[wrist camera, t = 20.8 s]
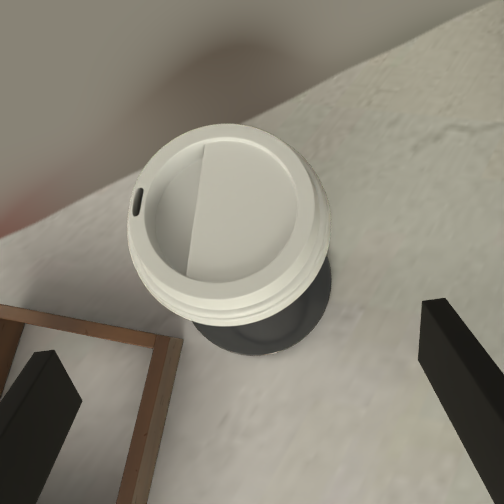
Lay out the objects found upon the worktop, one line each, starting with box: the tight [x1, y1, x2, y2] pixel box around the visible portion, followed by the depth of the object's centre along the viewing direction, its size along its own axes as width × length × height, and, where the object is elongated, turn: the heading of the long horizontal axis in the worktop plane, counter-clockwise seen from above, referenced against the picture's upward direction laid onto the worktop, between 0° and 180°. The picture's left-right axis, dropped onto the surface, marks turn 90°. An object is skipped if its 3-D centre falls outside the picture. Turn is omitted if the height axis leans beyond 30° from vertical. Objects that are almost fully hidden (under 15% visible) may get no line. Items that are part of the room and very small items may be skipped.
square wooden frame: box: [0, 304, 183, 504], centre depth 28 cm, size 15×15×4 cm
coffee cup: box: [127, 124, 331, 326], centre depth 23 cm, size 10×10×15 cm
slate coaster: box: [192, 254, 331, 356], centre depth 31 cm, size 12×12×1 cm
